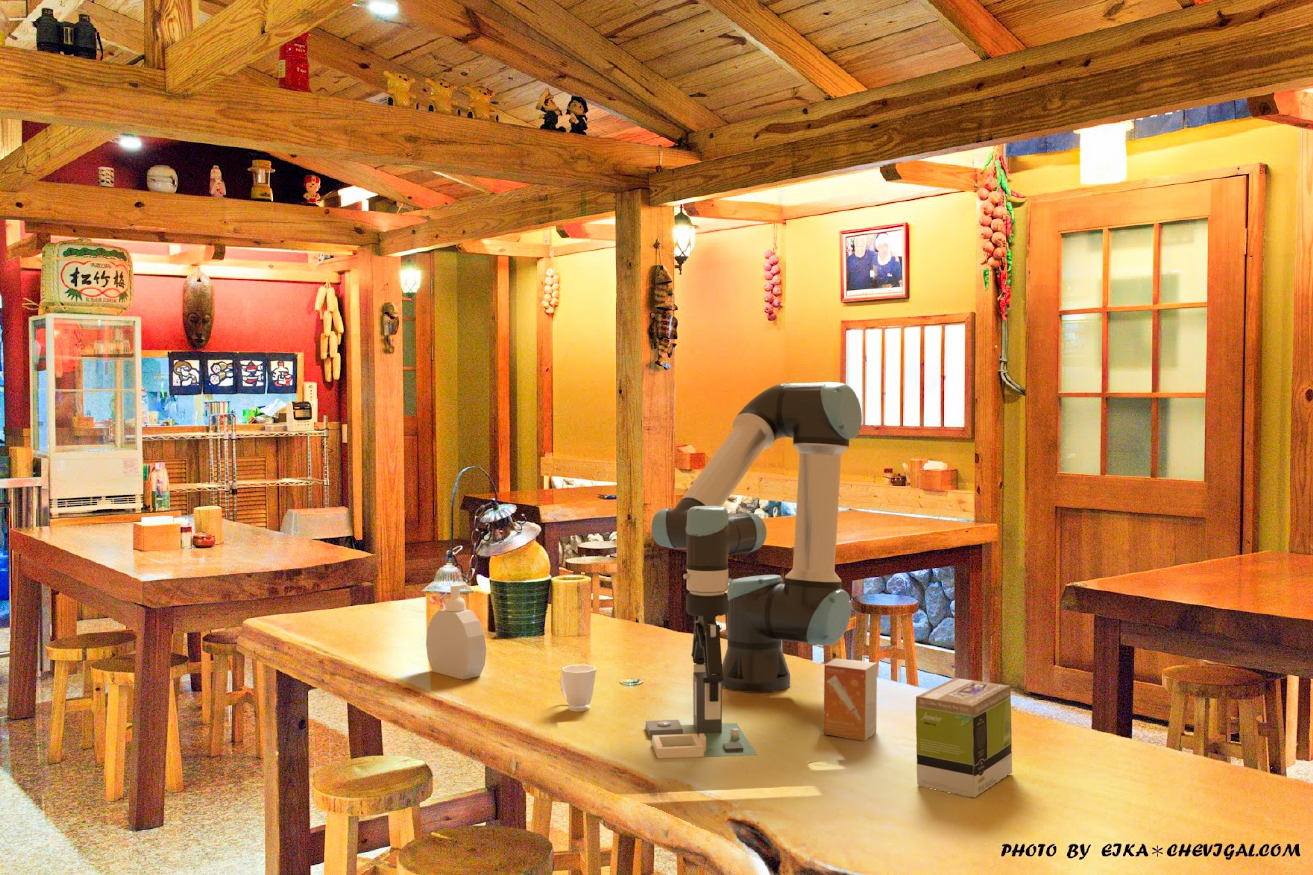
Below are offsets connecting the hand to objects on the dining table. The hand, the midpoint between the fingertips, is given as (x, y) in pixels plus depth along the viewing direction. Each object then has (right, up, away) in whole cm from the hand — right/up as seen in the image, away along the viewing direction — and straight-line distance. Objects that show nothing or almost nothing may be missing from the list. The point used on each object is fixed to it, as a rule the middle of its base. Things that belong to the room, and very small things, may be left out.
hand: (706, 709), depth 208 cm
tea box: (+40, -6, -24) cm, 47 cm away
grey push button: (-7, -5, -3) cm, 10 cm away
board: (-2, -5, -6) cm, 8 cm away
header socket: (-5, -4, -12) cm, 14 cm away
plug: (0, -4, 0) cm, 4 cm away
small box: (+26, -5, +1) cm, 27 cm away
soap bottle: (-54, -4, +49) cm, 72 cm away
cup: (-25, -5, +21) cm, 33 cm away
